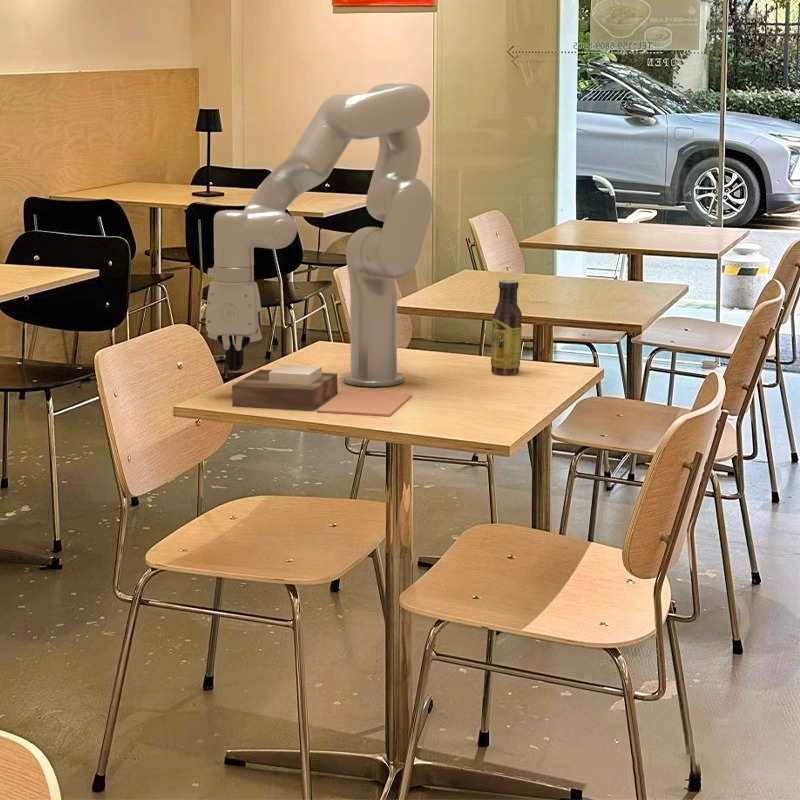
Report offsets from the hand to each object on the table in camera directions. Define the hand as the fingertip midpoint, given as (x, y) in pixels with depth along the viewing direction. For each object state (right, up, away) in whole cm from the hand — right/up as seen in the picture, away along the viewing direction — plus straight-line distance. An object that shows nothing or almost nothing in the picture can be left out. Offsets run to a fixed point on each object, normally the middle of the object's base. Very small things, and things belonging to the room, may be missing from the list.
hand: (234, 369), depth 265 cm
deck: (+10, -6, -1) cm, 12 cm away
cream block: (+12, -2, -2) cm, 12 cm away
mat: (+26, -7, -5) cm, 27 cm away
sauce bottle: (+55, -1, +25) cm, 60 cm away
